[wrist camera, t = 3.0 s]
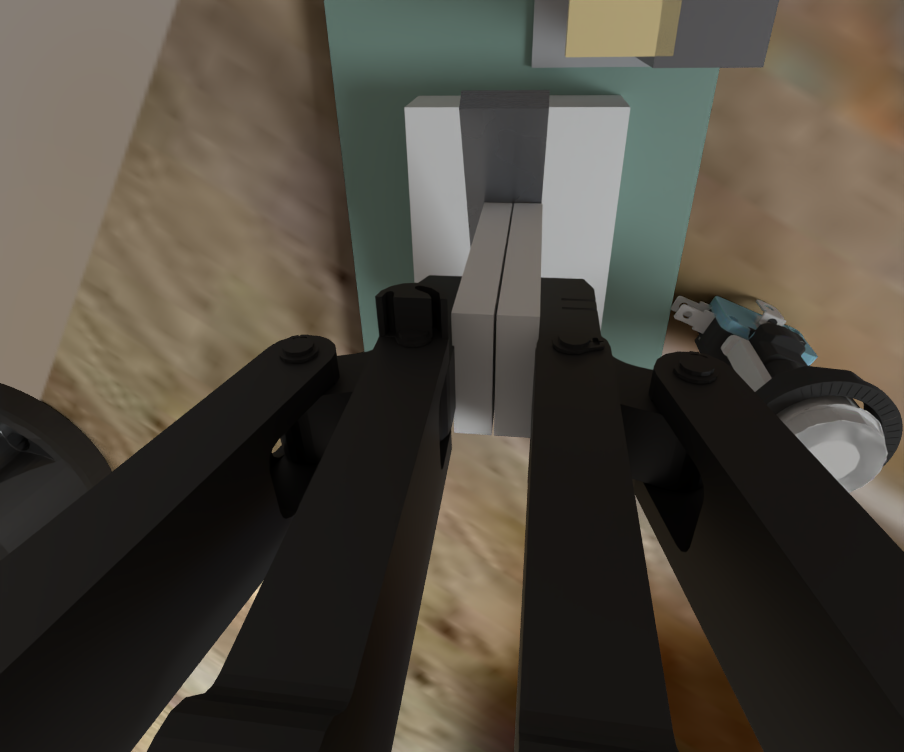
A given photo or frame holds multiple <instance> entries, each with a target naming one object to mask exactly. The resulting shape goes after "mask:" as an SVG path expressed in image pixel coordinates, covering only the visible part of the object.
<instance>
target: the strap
mask: <svg viewBox="0 0 904 752" xmlns="http://www.w3.org/2000/svg"><path fill="white" fill-rule="evenodd" d="M549 96H550V90H461V97H460V105H459V115H460V127H461V139H462V151H463V163H464V176H465V188H466V200H467V212H468V224H469V237H470V249H471V245H472V242H473V239H474V235H475V232H476V229H477V225H478V222H479V219H480V215H481V212H482V209H483V205H484V202H488V203H512V214H513V208H514V203H539V204H542V192H543V179H544V166H545V154H546V141H547V128H548V116H549Z"/></svg>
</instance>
